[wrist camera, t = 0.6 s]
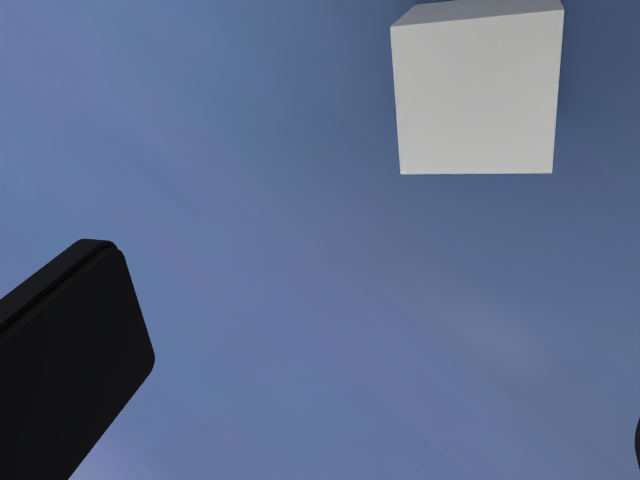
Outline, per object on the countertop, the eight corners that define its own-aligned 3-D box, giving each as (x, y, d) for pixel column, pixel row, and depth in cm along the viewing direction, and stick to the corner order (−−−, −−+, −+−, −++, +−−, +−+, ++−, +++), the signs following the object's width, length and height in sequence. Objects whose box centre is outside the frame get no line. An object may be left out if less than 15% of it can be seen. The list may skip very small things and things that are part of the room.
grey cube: (555, -12, 23) (564, 9, 18) (545, 124, 26) (551, 173, 21) (415, 4, 25) (390, 27, 20) (421, 128, 28) (400, 174, 23)
